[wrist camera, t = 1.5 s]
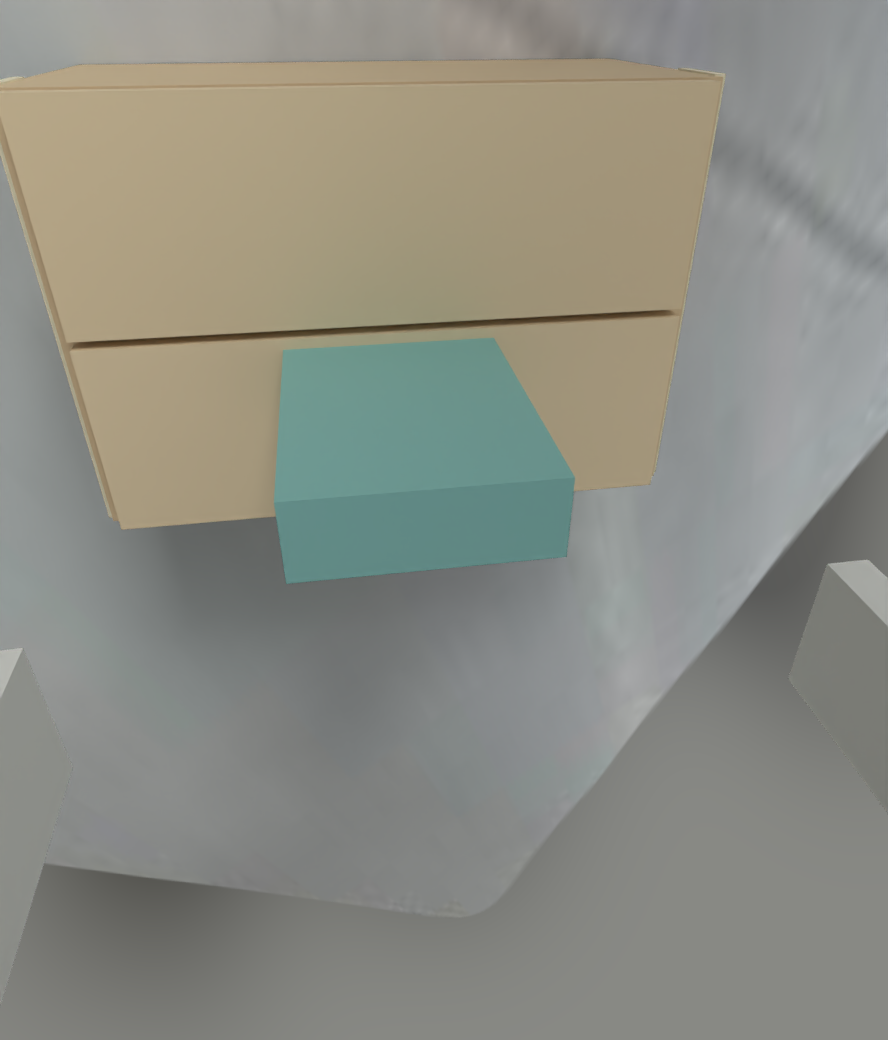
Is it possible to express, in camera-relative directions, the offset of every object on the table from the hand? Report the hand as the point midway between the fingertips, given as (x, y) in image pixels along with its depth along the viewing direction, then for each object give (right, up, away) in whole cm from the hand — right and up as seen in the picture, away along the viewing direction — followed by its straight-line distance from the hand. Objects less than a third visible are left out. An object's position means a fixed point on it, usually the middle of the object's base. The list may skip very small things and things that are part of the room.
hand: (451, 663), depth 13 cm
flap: (-2, +6, +11) cm, 12 cm away
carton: (-3, +13, +16) cm, 21 cm away
